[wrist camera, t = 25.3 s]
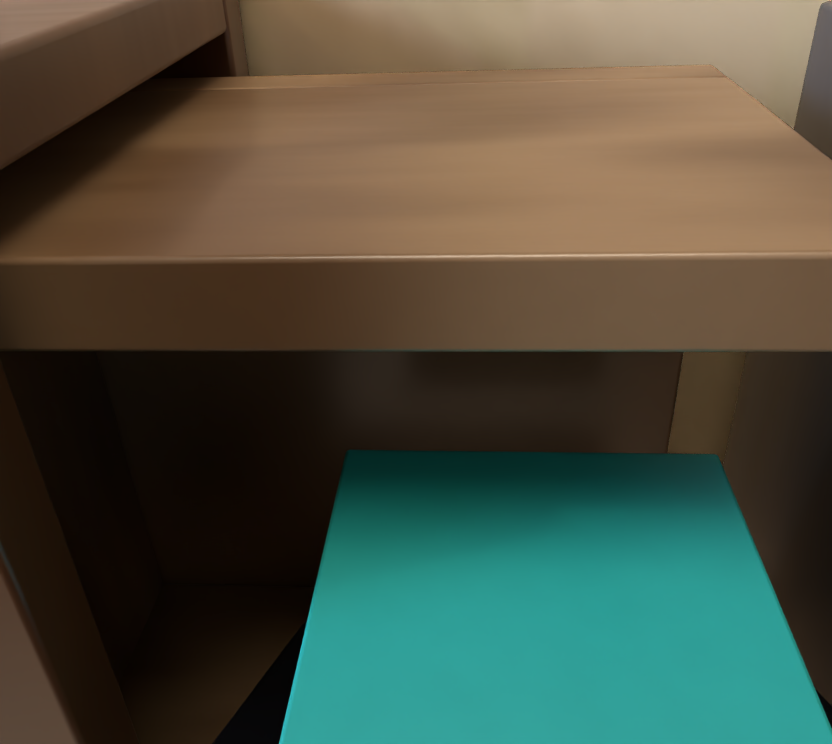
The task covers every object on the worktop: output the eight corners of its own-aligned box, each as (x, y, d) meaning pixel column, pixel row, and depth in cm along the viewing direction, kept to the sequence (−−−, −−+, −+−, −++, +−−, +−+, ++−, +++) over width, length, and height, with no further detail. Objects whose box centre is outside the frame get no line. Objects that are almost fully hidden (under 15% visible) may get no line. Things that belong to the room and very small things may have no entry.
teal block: (718, 452, 8) (880, 836, 5) (669, 692, 11) (759, 1077, 7) (345, 447, 9) (261, 810, 5) (369, 682, 11) (319, 1048, 7)
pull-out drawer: (1308, -15, 10) (2449, 132, 4) (994, 612, 16) (1286, 1026, 10) (-8, 25, 11) (-514, 181, 6) (159, 592, 17) (0, 950, 12)
